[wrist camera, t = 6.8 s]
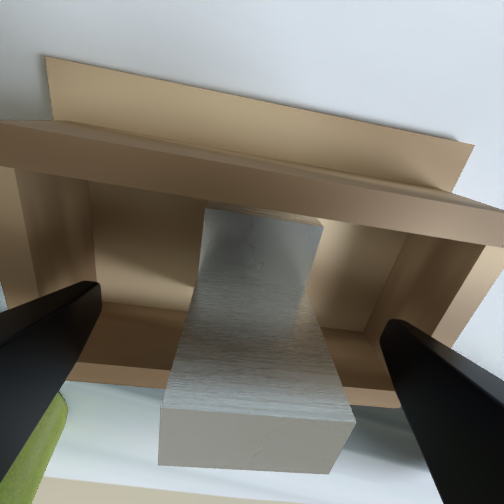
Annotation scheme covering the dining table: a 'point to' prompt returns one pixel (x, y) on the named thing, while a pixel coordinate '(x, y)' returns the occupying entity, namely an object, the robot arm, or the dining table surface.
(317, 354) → the bracket
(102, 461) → the dining table surface
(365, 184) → the light wood shallow box
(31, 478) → the plant pot
